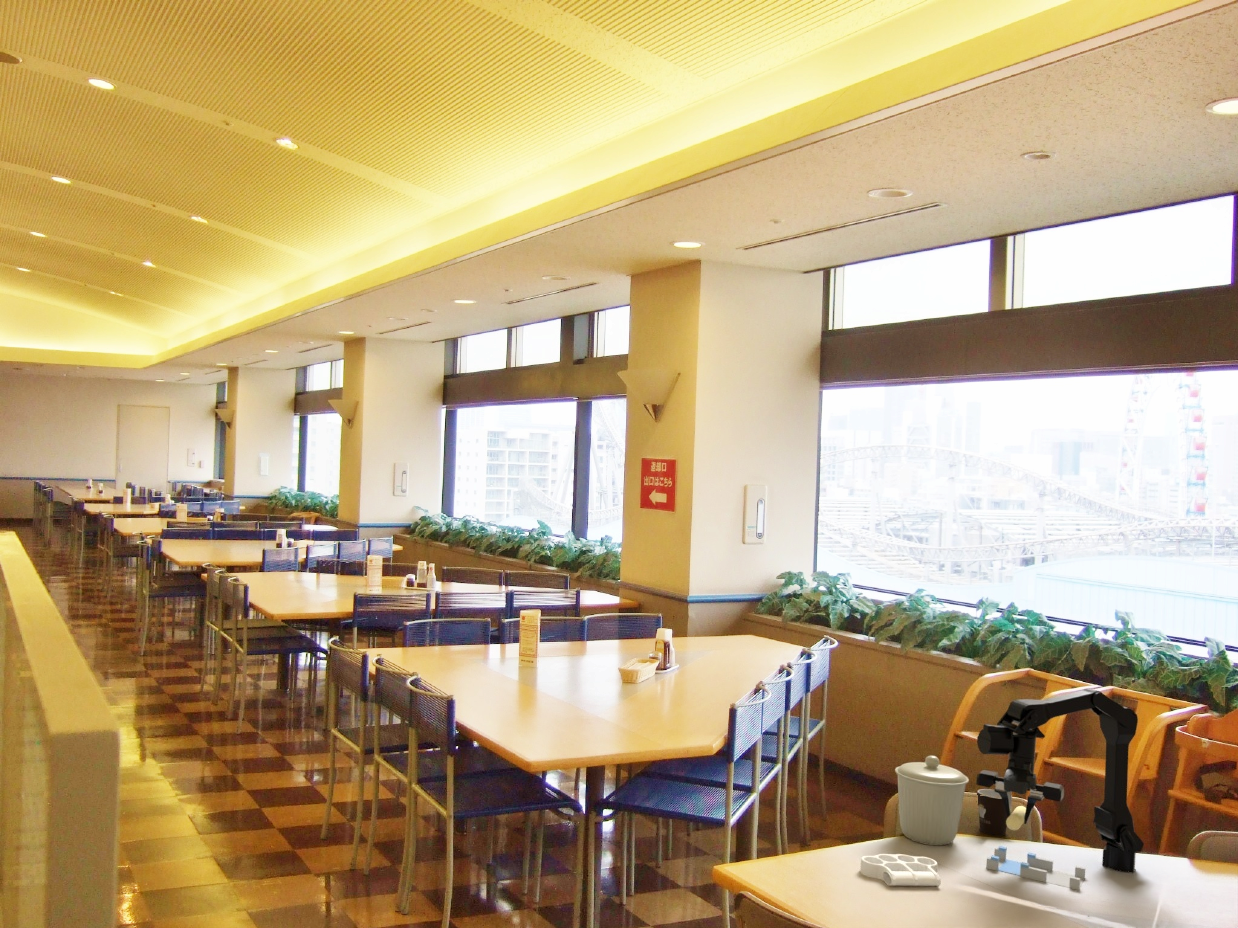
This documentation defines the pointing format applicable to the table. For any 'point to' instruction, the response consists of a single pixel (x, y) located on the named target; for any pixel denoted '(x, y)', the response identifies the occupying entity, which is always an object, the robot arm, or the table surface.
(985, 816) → the coffee mug
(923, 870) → the white brass knuckles
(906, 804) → the canister
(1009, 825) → the cream capsule cylinder
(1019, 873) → the toy block layout
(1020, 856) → the table surface
